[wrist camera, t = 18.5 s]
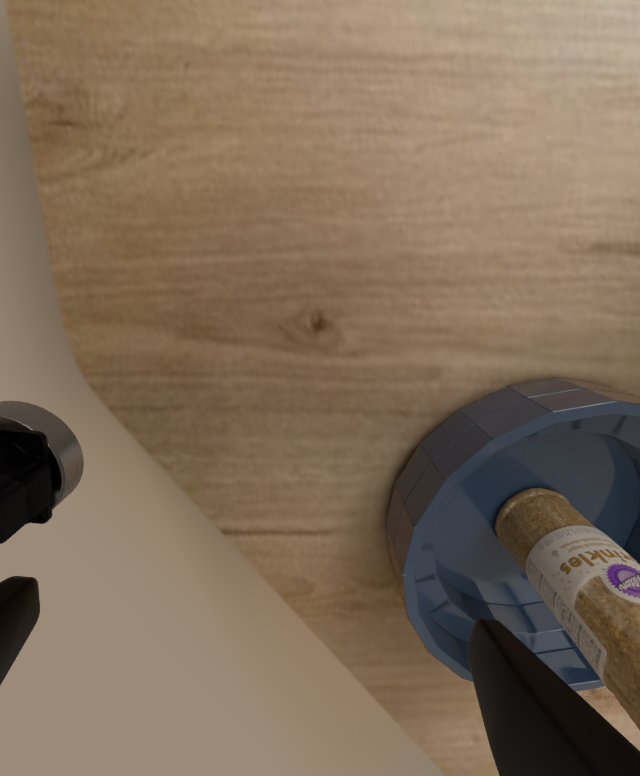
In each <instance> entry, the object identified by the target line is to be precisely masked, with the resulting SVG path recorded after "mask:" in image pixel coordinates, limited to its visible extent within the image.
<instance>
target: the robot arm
mask: <svg viewBox="0 0 640 776" xmlns="http://www.w3.org/2000/svg"><path fill="white" fill-rule="evenodd" d="M35 438H37V439H38V440H39V442H38V441H36V440H35ZM42 515H43V516H44V517H43V516H42ZM51 518H52V485H51V469H50V466H49V455H48V440H47V436H46V435H45V434H44V433H43V432H41V431H35V430H26V429H18V428H9V427H0V543H1V544H2V543H4V542H5V541H6V540H7V539H9V538H10V537H11V536H12V535H13V534H15V533H16V532H17V531H18V530H19V529H20V528H21V527H23V526H24V525H25V524H26V523H37V524H44V523H47V522H48V521H49V520H50V519H51ZM39 613H40V602H39V590H38V582H37V580H36V579H35V578H33V577H22V576H13V577H10V578H8V579H6V580H4V581H2V582H0V685H1V683H2V681H3V680H4V678H5V676H6V675H7V673H8V671H9V669H10V667H11V666H12V664H13V662H14V661H15V659H16V657H17V656H18V654H19V652H20V650H21V648H22V647H23V645H24V643H25V642H26V640H27V638H28V637H29V635H30V633H31V631H32V630H33V628H34V626H35V624H36V622H37V620H38V617H39ZM467 658H468V662H469V666H470V670H471V674H472V678H473V682H474V686H475V690H476V694H477V698H478V702H479V706H480V709H481V713H482V717H483V721H484V725H485V729H486V733H487V737H488V740H489V744H490V747H491V751H492V754H493V757H494V760H495V763H496V766H497V769H498V772H499V775H500V776H640V751H639V750H638V749H637V748H636V747H635V746H633V745H632V744H631V743H630V742H629V741H628V740H627V739H626V738H625V737H624V736H623V735H622V734H621V733H619V732H618V731H617V730H616V729H615V728H614V727H613V726H612V725H611V724H610V723H609V722H608V721H607V720H605V719H604V718H603V717H602V716H601V715H600V714H599V713H598V712H597V711H596V710H595V709H594V708H593V707H591V706H590V705H589V704H588V703H587V702H586V701H585V700H584V699H583V698H582V697H581V696H580V695H579V694H577V693H576V692H575V691H574V690H573V689H572V688H571V687H570V686H569V685H568V684H567V683H566V682H565V681H563V680H562V679H561V678H560V677H559V676H558V675H557V674H556V673H555V672H554V671H553V670H552V669H550V668H549V667H548V666H547V665H546V664H545V663H544V662H543V661H542V660H541V659H540V658H539V657H538V656H536V655H535V654H534V653H533V652H532V651H531V650H530V649H529V648H528V647H527V646H526V645H525V644H524V643H522V642H521V641H520V640H519V639H518V638H517V637H516V636H515V635H514V634H513V633H512V632H511V631H510V630H508V629H507V628H506V627H505V626H504V625H503V624H502V623H501V622H499V621H498V620H495V619H486V618H479V619H478V620H477V621H476V622H475V625H474V628H473V631H472V634H471V637H470V640H469V643H468V646H467Z"/></svg>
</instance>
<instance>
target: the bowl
mask: <svg viewBox="0 0 640 776" xmlns="http://www.w3.org/2000/svg"><path fill="white" fill-rule="evenodd" d="M532 488H543V489H548V490H552V491H555V492H557V493H559V494H561V495H563V496H564V497H565V498H566V499H567V500H568V501H569V503H570V505H571V506H572V507H573V508H574V509H576V510H577V511H578V512H579V513H580V514H581V515H582V516H583V517H584V518H585V519H587V520H588V521H589V522H590V523H591V524H592V525H593V526H595V527H596V528H597V529H598V530H600V531H602V532H603V533H604V534H606V535H607V536H608V537H609V538H611V539H612V540H613V541H614V542H615V543H616V544H618V545H619V546H620V547H621V548H622V549H623V550H624V551H626V552H627V553H628V554H629V555H630V556H631V557H632V558H633V559H635V560H636V561H637V562H638V563H639V564H640V396H637V395H634V394H631V393H629V392H626V391H623V390H620V389H617V388H615V387H612V386H609V385H606V384H599V383H592V382H585V381H578V380H571V379H564V378H553V379H547V380H541V381H535V382H529V383H524V384H518V385H512V386H507V387H504V388H502V389H500V390H498V391H496V392H494V393H492V394H489V395H487V396H485V397H483V398H481V399H479V400H477V401H475V402H473V403H471V404H469V405H467V406H465V407H463V408H461V409H459V410H457V411H456V412H455V413H454V414H453V415H451V416H450V417H449V418H448V419H447V420H446V421H445V422H444V423H442V424H441V425H440V426H439V427H438V428H437V429H436V430H435V431H433V432H432V433H431V434H430V435H429V436H428V437H427V438H426V439H424V440H423V441H422V442H421V443H420V444H419V446H418V447H417V449H416V451H415V452H414V454H413V456H412V457H411V459H410V461H409V462H408V464H407V465H406V467H405V469H404V470H403V472H402V474H401V475H400V477H399V478H398V480H397V482H396V484H395V487H394V491H393V496H392V500H391V504H390V509H389V513H388V517H387V522H386V529H387V536H388V543H389V550H390V557H391V563H392V566H393V570H394V573H395V576H396V580H397V583H398V586H399V590H400V593H401V597H402V600H403V604H404V607H405V610H406V614H407V617H408V619H409V621H410V622H411V624H412V626H413V627H414V629H415V631H416V633H417V634H418V636H419V638H420V639H421V641H422V643H423V644H424V646H425V648H426V649H427V651H428V652H429V653H430V654H431V655H432V656H434V657H435V658H436V659H437V660H439V661H440V662H441V663H443V664H444V665H445V666H446V667H448V668H449V669H450V670H452V671H453V672H454V673H456V674H457V675H458V676H459V677H461V678H463V679H466V680H468V681H471V682H473V678H472V674H471V670H470V666H469V662H468V658H467V646H468V643H469V640H470V637H471V634H472V631H473V628H474V625H475V622H476V621H477V620H478V619H479V618H486V619H495V620H498V621H499V622H501V623H502V624H503V625H504V626H505V627H506V628H507V629H508V630H510V631H511V632H512V633H513V634H514V635H515V636H516V637H517V638H518V639H519V640H520V641H521V642H522V643H524V644H525V645H526V646H527V647H528V648H529V649H530V650H531V651H532V652H533V653H534V654H535V655H536V656H538V657H539V658H540V659H541V660H542V661H543V662H544V663H545V664H546V665H547V666H548V667H549V668H550V669H552V670H553V671H554V672H555V673H556V674H557V675H558V676H559V677H560V678H561V679H562V680H563V681H565V682H566V683H567V684H568V685H569V686H570V687H571V688H572V689H573V690H574V691H575V692H576V691H583V690H589V689H595V688H599V687H602V686H604V685H605V684H604V683H603V682H602V680H601V679H600V678H599V676H598V675H597V673H596V672H595V671H594V669H593V668H592V666H591V665H590V664H589V662H588V661H587V659H586V658H585V657H584V655H583V654H582V653H581V651H580V650H579V648H578V647H577V646H576V644H575V643H574V642H573V640H572V639H571V637H570V636H569V635H568V633H567V632H566V631H565V629H564V628H563V627H562V625H561V624H560V622H559V621H558V620H557V618H556V617H555V616H554V614H553V613H552V611H551V610H550V609H549V607H548V606H547V605H546V603H545V602H544V601H543V599H542V598H541V596H540V595H539V594H538V592H537V591H536V590H535V588H534V587H533V585H532V584H531V582H530V581H529V579H528V576H527V575H526V574H525V572H524V571H523V570H522V568H521V567H520V566H519V564H518V563H517V561H516V560H515V559H514V557H513V556H512V555H511V553H510V552H509V551H508V550H507V549H506V548H504V547H503V546H502V544H501V543H500V542H499V540H498V538H497V534H496V531H495V523H496V518H497V515H498V513H499V511H500V509H501V508H502V506H503V505H504V504H505V502H506V501H507V500H508V499H510V498H512V497H513V496H514V495H515V494H517V493H519V492H522V491H524V490H528V489H532Z"/></svg>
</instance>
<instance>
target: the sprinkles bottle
mask: <svg viewBox="0 0 640 776" xmlns="http://www.w3.org/2000/svg"><path fill="white" fill-rule="evenodd" d="M495 531H496V534H497V538H498V540H499V542H500V543H501V544H502V546H503V547H504V548H506V549H507V550H508V551H509V552H510V553H511V555H512V556H513V557H514V559H515V560H516V561H517V563H518V564H519V566H520V567H521V568H522V570H523V571H524V572H525V574H526V575H527V576H528V579H529V581H530V582H531V584H532V585H533V587H534V588H535V590H536V591H537V592H538V594H539V595H540V596H541V598H542V599H543V601H544V602H545V603H546V605H547V606H548V607H549V609H550V610H551V611H552V613H553V614H554V616H555V617H556V618H557V620H558V621H559V622H560V624H561V625H562V627H563V628H564V629H565V631H566V632H567V633H568V635H569V636H570V637H571V639H572V640H573V642H574V643H575V644H576V646H577V647H578V648H579V650H580V651H581V653H582V654H583V655H584V657H585V658H586V659H587V661H588V662H589V664H590V665H591V666H592V668H593V669H594V671H595V672H596V673H597V675H598V676H599V678H600V679H601V680H602V682H603V683H604V684H605V686H606V687H607V688H608V689H609V690H610V691H611V692H612V693H613V694H614V695H615V697H616V698H617V700H618V701H619V703H620V704H621V705H622V706H623V708H624V709H625V710H626V711H627V713H628V714H629V716H630V718H631V719H632V720H633V722H634V723H635V724H636V725H637V727H638V728H639V730H640V564H639V563H638V562H637V561H636V560H635V559H633V558H632V557H631V556H630V555H629V554H628V553H627V552H626V551H624V550H623V549H622V548H621V547H620V546H619V545H618V544H616V543H615V542H614V541H613V540H612V539H611V538H609V537H608V536H607V535H606V534H604V533H603V532H602V531H600V530H598V529H597V528H596V527H595V526H593V525H592V524H591V523H590V522H589V521H588V520H587V519H585V518H584V517H583V516H582V515H581V514H580V513H579V512H578V511H577V510H576V509H574V508H573V507H572V506H571V505H570V503H569V501H568V500H567V499H566V498H565V497H564V496H563V495H561V494H559V493H557V492H555V491H552V490H548V489H543V488H532V489H528V490H524V491H522V492H519V493H517V494H515V495H514V496H513V497H512V498H510V499H508V500H507V501H506V502H505V504H504V505H503V506H502V508H501V509H500V511H499V513H498V515H497V518H496V523H495Z"/></svg>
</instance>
